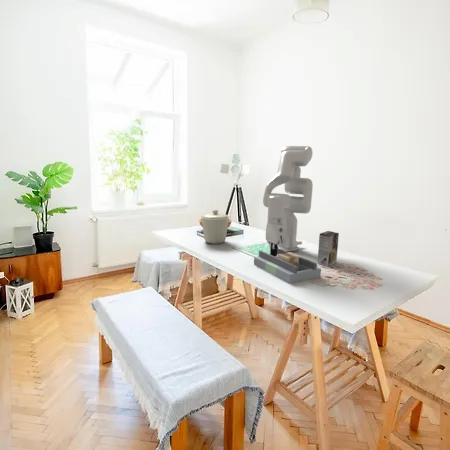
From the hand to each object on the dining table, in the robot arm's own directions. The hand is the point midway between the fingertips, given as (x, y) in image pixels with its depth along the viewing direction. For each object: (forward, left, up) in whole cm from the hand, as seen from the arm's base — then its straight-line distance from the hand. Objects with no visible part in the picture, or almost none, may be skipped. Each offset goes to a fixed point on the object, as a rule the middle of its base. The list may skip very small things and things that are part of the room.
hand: (273, 255), depth 164 cm
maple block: (0, +12, -1) cm, 12 cm away
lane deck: (0, +10, -5) cm, 11 cm away
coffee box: (-27, +10, -5) cm, 29 cm away
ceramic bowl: (-8, -83, -5) cm, 83 cm away
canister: (+7, -53, -5) cm, 53 cm away
